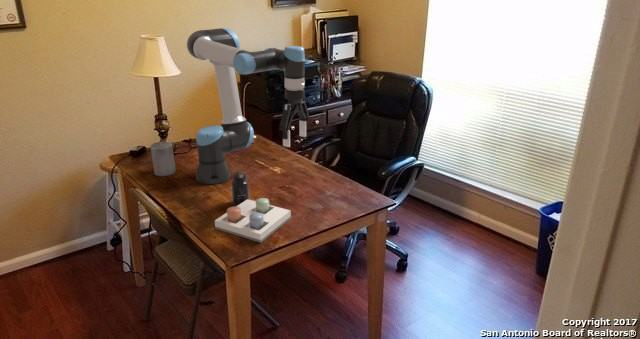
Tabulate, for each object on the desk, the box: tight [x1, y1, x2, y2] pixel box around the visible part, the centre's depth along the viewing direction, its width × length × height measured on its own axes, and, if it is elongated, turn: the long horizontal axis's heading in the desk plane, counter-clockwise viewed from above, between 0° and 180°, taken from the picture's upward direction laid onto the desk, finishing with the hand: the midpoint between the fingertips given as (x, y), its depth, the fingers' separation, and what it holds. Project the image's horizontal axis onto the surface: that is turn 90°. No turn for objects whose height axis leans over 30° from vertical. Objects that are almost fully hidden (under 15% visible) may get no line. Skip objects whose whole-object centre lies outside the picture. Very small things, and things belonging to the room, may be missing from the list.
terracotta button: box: [226, 206, 241, 223], centre depth 170 cm, size 5×5×4 cm
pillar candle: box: [149, 141, 177, 177], centre depth 215 cm, size 10×10×15 cm
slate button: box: [249, 213, 264, 229], centre depth 166 cm, size 5×5×4 cm
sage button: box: [255, 197, 270, 213], centre depth 177 cm, size 5×5×4 cm
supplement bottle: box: [230, 172, 250, 206], centre depth 188 cm, size 7×7×12 cm
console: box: [214, 198, 292, 244], centre depth 173 cm, size 20×20×3 cm
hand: (294, 141), depth 185 cm, fingers open, 13 cm apart
